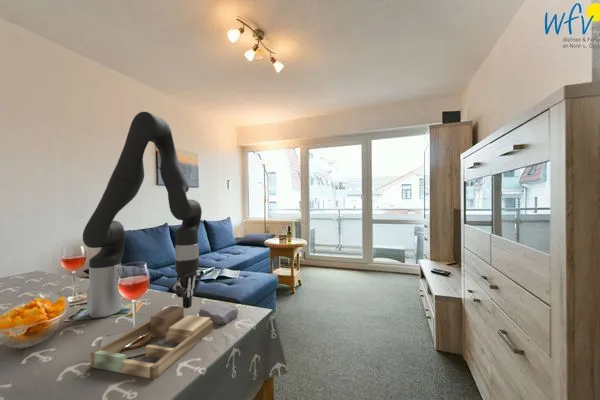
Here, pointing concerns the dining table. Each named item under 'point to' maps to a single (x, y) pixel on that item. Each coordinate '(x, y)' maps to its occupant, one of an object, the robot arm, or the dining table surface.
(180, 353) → the box
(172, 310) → the walnut block
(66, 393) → the dining table surface
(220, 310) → the stone block
